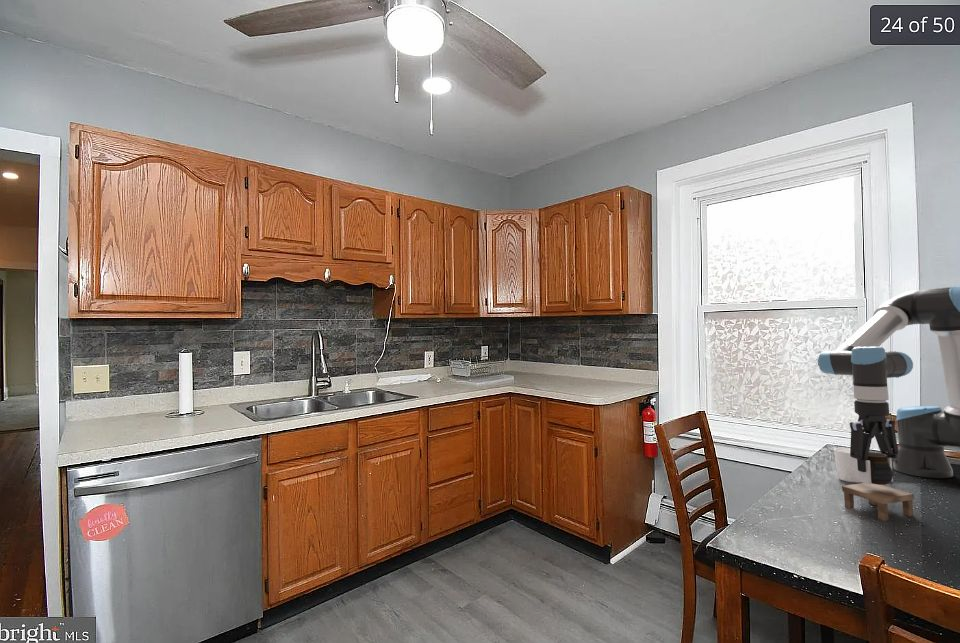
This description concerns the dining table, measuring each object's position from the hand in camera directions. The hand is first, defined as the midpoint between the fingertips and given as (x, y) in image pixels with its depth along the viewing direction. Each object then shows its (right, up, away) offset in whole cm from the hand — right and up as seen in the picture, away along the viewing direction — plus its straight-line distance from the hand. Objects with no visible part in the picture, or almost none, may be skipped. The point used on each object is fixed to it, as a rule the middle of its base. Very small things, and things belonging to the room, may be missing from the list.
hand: (876, 481), depth 129 cm
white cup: (+15, -9, +27) cm, 32 cm away
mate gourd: (0, 0, 0) cm, 1 cm away
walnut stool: (0, -8, 0) cm, 8 cm away
